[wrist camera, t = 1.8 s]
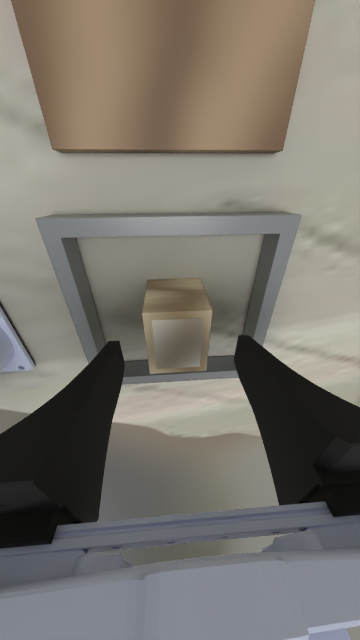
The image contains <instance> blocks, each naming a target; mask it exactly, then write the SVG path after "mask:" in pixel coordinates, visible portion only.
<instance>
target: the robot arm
mask: <svg viewBox="0 0 360 640" xmlns="http://www.w3.org/2000/svg"><path fill="white" fill-rule="evenodd" d="M234 363H235V366H236V370H237V373H238V376H239V379H240V381H241V383H242V386H243V388H244V391H245V393H246V395H247V398H248V400H249V402H250V404H251V407H252V409H253V412H254V415H255V417H256V421H257V424H258V427H259V430H260V433H261V437H262V440H263V444H264V447H265V450H266V454H267V458H268V461H269V465H270V469H271V473H272V477H273V481H274V485H275V489H276V493H277V498H278V502H279V506H269V507H258V508H247V509H235V510H225V511H213V512H203V513H191V514H180V515H169V516H157V517H147V518H135V519H124V520H114V521H102V522H97V520H98V517H99V508H100V499H101V489H102V483H103V475H104V467H105V461H106V454H107V447H108V441H109V435H110V429H111V424H112V419H113V415H114V412H115V408H116V404H117V401H118V397H119V393H120V390H121V386H122V382H123V376H124V368H125V364H124V359H123V355H122V351H121V346H120V342H119V341H109V342H108V343H107V344H106V345H105V346H104V347H103V348H102V350H101V351H100V352H99V353H98V354H97V355H96V356H95V358H94V359H93V360H92V361H91V362H90V363H89V364H88V365H87V366H86V367H85V368H84V369H83V370H82V371H81V372H80V373H79V374H78V375H77V376H76V377H75V378H74V379H73V380H72V381H71V382H70V383H69V384H68V385H67V386H66V387H65V388H64V389H62V390H61V391H60V392H59V393H58V394H57V395H55V396H54V397H53V398H52V399H50V400H49V401H48V402H46V403H45V404H44V405H42V406H41V407H40V408H38V409H37V410H36V411H34V412H33V413H32V414H30V415H29V416H27V417H26V418H24V419H23V420H22V421H20V422H18V423H17V424H15V425H14V426H12V427H11V428H9V429H8V430H6V431H5V432H3V433H1V434H0V640H351V639H350V637H349V634H348V632H347V629H346V628H348V627H353V626H360V407H358V406H356V405H354V404H352V403H349V402H347V401H345V400H343V399H341V398H339V397H337V396H335V395H333V394H331V393H330V392H328V391H326V390H324V389H322V388H321V387H319V386H317V385H315V384H314V383H312V382H310V381H309V380H307V379H306V378H304V377H302V376H301V375H299V374H298V373H296V372H295V371H293V370H292V369H290V368H289V367H288V366H286V365H285V364H284V363H282V362H281V361H280V360H278V359H277V358H276V357H274V356H273V355H272V354H271V353H269V352H268V351H267V350H266V349H265V348H263V347H262V346H261V345H260V344H259V343H257V342H256V341H255V340H254V339H253V338H252V337H250V336H249V335H239V336H238V341H237V346H236V351H235V356H234ZM34 367H35V365H34V363H33V361H32V360H31V358H30V356H29V354H28V353H27V351H26V349H25V348H24V346H23V344H22V343H21V341H20V339H19V337H18V336H17V334H16V332H15V331H14V329H13V327H12V325H11V324H10V322H9V320H8V319H7V317H6V315H5V314H4V312H3V310H2V308H1V307H0V372H16V371H31V370H33V368H34ZM289 533H293V534H289ZM279 534H289V535H285V536H280V537H276V538H274V540H273V543H272V544H271V545H269V546H267V547H265V548H263V549H262V552H259V553H242V554H228V555H217V556H207V557H197V558H190V559H181V560H173V561H167V562H160V563H153V564H147V565H141V566H134V565H133V563H132V562H129V561H126V560H124V556H123V555H122V554H113V553H94V552H104V551H113V550H114V551H115V550H125V549H135V548H145V547H155V546H166V545H176V544H186V543H197V542H206V541H217V540H227V539H237V538H248V537H258V536H268V535H279Z"/></svg>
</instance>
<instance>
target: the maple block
mask: <svg viewBox="0 0 360 640" xmlns="http://www.w3.org/2000/svg"><path fill="white" fill-rule="evenodd" d="M142 317H143V325H144V332H145V340H146V348H147V355H148V363H149V370H150V374H156V373H174V372H191V371H206V369H207V359H208V349H209V339H210V329H211V319H212V308H211V306H210V303H209V301H208V298H207V296H206V293H205V291H204V288H203V286H202V284H201V281H200V279H199V278H190V279H158V280H148V282H147V288H146V293H145V299H144V304H143V310H142Z"/></svg>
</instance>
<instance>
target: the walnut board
mask: <svg viewBox="0 0 360 640" xmlns="http://www.w3.org/2000/svg"><path fill="white" fill-rule="evenodd" d="M11 2H12V5H13V9H14V13H15V16H16V20H17V23H18V27H19V31H20V34H21V38H22V41H23V45H24V49H25V52H26V56H27V59H28V63H29V67H30V70H31V74H32V77H33V81H34V85H35V88H36V92H37V95H38V99H39V103H40V106H41V110H42V113H43V117H44V121H45V124H46V128H47V131H48V135H49V139H50V142H51V146H52V149H53V150H56V151H59V152H67V153H276V152H279V151H282V150H283V147H284V142H285V138H286V133H287V128H288V124H289V119H290V114H291V110H292V105H293V101H294V96H295V91H296V87H297V82H298V78H299V73H300V68H301V64H302V59H303V54H304V50H305V45H306V41H307V36H308V31H309V27H310V22H311V17H312V13H313V8H314V4H315V0H11Z"/></svg>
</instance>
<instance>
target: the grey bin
mask: <svg viewBox="0 0 360 640" xmlns="http://www.w3.org/2000/svg"><path fill="white" fill-rule="evenodd" d="M301 216H302V215H300V214H294V213H288V212H239V213H161V214H83V215H50V216H45V217H40V218H35V219H36V222H37V225H38V227H39V230H40V233H41V235H42V238H43V241H44V243H45V246H46V249H47V252H48V254H49V257H50V260H51V262H52V265H53V268H54V271H55V273H56V276H57V279H58V281H59V284H60V287H61V290H62V292H63V295H64V298H65V300H66V303H67V306H68V308H69V311H70V314H71V317H72V319H73V322H74V325H75V327H76V330H77V333H78V336H79V338H80V341H81V344H82V346H83V349H84V352H85V354H86V357H87V360H88V363H90V362H91V361H92V360H93V359H94V358H95V356H96V355H97V354H98V353H99V352H100V351H101V350H102V348H103V347H104V346H105V345H106V344H105V340H104V337H103V333H102V330H101V326H100V322H99V319H98V315H97V312H96V308H95V305H94V301H93V298H92V294H91V290H90V287H89V283H88V280H87V276H86V273H85V269H84V266H83V262H82V258H81V255H80V251H79V248H78V244H77V241H76V238H77V237H129V236H181V235H234V234H265V236H264V240H263V245H262V249H261V254H260V259H259V263H258V268H257V272H256V277H255V282H254V286H253V291H252V295H251V300H250V305H249V309H248V314H247V319H246V323H245V328H244V332H243V335H249V336H250V337H252V338H253V339H254V340H255V341H256V342H257V343H259V344H260V345H261V346H263V343H264V340H265V336H266V333H267V329H268V326H269V323H270V319H271V316H272V313H273V309H274V306H275V303H276V299H277V296H278V293H279V289H280V286H281V283H282V279H283V276H284V273H285V269H286V266H287V262H288V259H289V256H290V252H291V249H292V246H293V242H294V239H295V236H296V232H297V229H298V226H299V222H300V219H301ZM124 364H125V368H124V376H123V382H122V385H123V384H139V383H156V382H172V381H189V380H206V379H222V378H239V376H238V373H237V370H236V366H235V363H234V356H218V357H208V359H207V369H206V371H191V372H174V373H156V374H150V370H149V363H148V360H143V361H125V362H124Z"/></svg>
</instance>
